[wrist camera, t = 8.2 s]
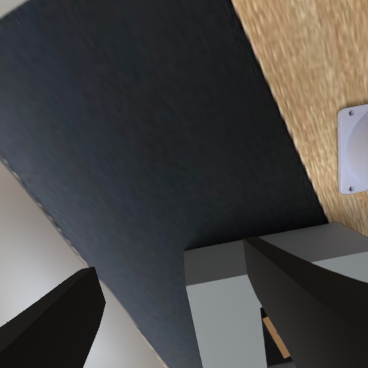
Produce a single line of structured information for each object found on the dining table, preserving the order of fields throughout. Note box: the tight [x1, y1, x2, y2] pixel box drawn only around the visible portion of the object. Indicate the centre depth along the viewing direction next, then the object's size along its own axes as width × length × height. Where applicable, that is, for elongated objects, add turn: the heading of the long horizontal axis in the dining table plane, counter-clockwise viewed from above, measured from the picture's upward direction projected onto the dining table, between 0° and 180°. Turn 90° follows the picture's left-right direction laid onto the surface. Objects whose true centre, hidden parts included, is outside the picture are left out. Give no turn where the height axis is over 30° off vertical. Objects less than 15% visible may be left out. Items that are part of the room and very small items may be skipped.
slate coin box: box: [183, 222, 368, 368], centre depth 19 cm, size 16×14×5 cm
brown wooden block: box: [260, 307, 290, 359], centre depth 19 cm, size 3×5×4 cm, turn 29°
